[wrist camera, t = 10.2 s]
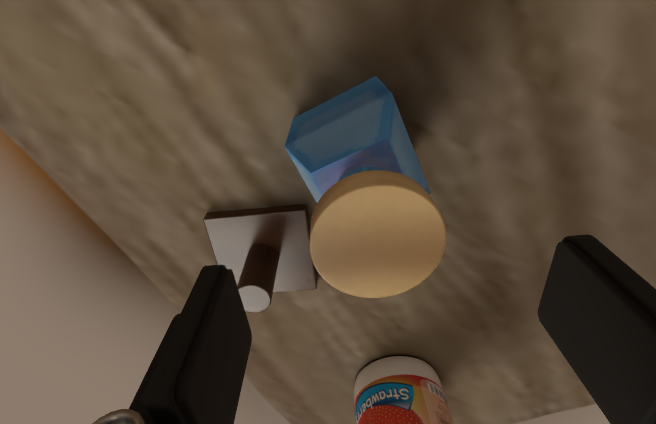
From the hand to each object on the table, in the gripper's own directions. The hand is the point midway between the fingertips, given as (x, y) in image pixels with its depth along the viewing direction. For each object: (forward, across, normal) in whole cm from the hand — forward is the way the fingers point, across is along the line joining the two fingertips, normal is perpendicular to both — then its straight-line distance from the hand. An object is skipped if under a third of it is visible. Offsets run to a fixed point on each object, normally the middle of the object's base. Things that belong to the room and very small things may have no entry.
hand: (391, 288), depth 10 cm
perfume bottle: (+17, 0, +1) cm, 17 cm away
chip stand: (+16, +8, +10) cm, 21 cm away
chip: (+4, 0, +1) cm, 4 cm away
